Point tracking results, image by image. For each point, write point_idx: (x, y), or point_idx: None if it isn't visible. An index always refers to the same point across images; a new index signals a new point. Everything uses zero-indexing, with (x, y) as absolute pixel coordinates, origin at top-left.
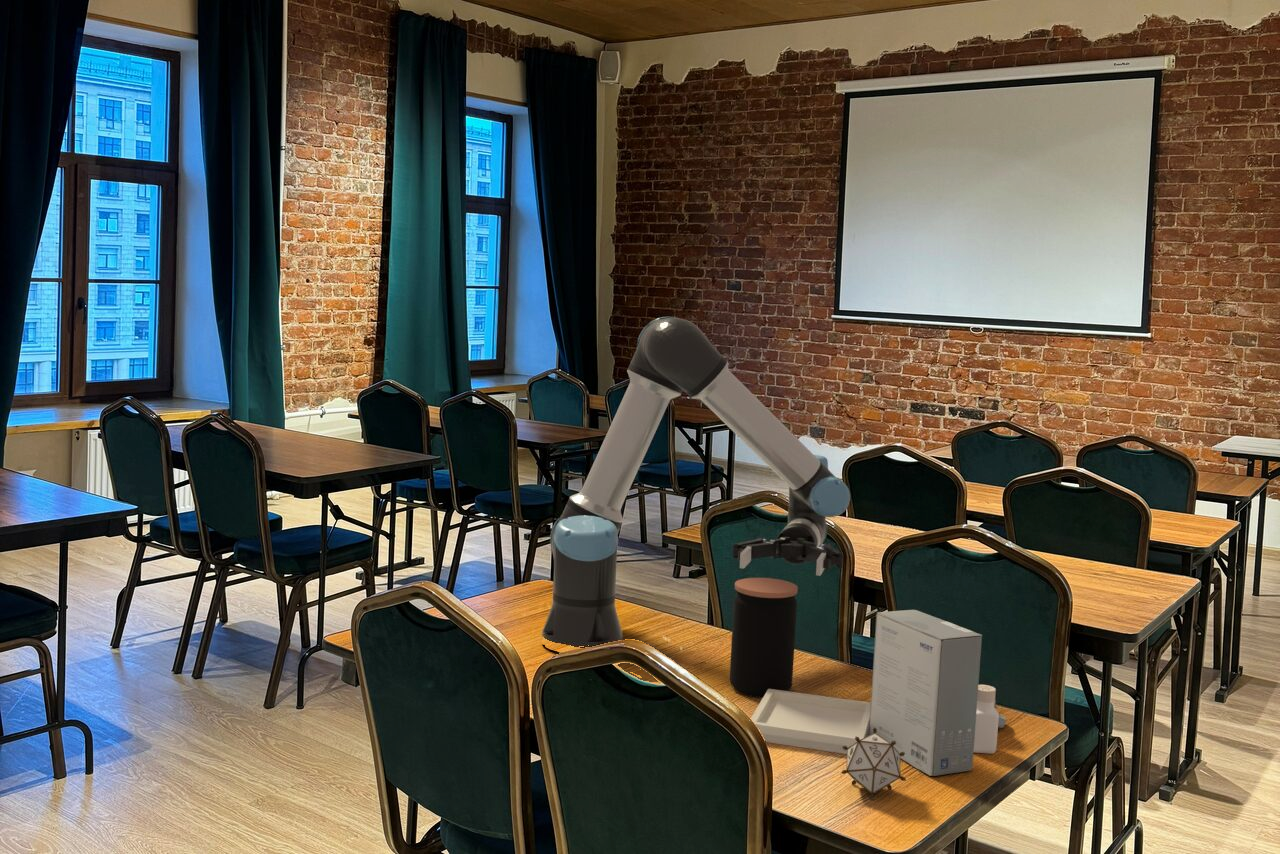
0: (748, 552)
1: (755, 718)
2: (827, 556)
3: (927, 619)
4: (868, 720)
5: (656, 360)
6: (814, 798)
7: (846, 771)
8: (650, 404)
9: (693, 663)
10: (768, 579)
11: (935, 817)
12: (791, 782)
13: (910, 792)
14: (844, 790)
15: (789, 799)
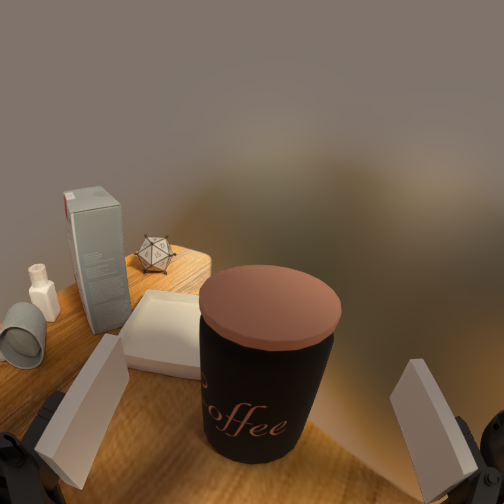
0: (435, 431)
1: None
2: (34, 457)
3: (81, 199)
4: (130, 316)
5: None
6: (192, 263)
7: (173, 254)
8: None
9: (383, 487)
10: (278, 329)
11: (130, 257)
12: (205, 273)
13: (132, 272)
14: (173, 270)
15: (206, 262)
